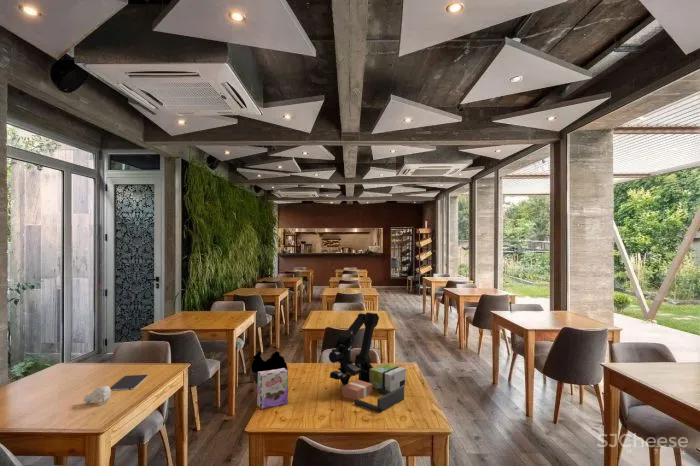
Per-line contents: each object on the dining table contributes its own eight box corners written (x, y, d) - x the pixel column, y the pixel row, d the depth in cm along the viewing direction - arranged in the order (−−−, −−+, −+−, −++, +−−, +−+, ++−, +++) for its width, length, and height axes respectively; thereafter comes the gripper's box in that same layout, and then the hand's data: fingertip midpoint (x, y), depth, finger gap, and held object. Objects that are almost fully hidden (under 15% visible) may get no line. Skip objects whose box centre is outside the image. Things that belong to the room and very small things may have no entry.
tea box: (390, 374, 208) (368, 368, 217) (390, 393, 207) (368, 387, 217) (406, 367, 219) (384, 362, 229) (406, 385, 219) (384, 380, 228)
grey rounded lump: (104, 387, 191) (79, 390, 191) (106, 405, 191) (80, 408, 190) (112, 383, 197) (87, 385, 197) (113, 400, 197) (89, 403, 197)
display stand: (354, 404, 194) (354, 391, 194) (379, 391, 210) (379, 380, 210) (380, 412, 184) (380, 399, 184) (404, 399, 200) (404, 387, 200)
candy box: (260, 409, 187) (260, 374, 188) (257, 405, 192) (257, 371, 193) (288, 404, 193) (288, 370, 194) (284, 400, 199) (284, 367, 199)
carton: (341, 396, 204) (342, 386, 205) (357, 389, 214) (357, 379, 214) (357, 401, 198) (357, 390, 198) (372, 393, 208) (372, 383, 208)
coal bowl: (295, 387, 216) (295, 352, 217) (263, 397, 202) (264, 360, 203) (274, 378, 231) (274, 346, 231) (243, 387, 216) (243, 352, 217)
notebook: (125, 378, 232) (108, 391, 211) (125, 375, 232) (108, 388, 211) (148, 377, 234) (134, 390, 213) (148, 374, 234) (134, 387, 213)
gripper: (345, 365, 200) (345, 396, 199) (367, 357, 214) (367, 386, 213) (329, 361, 207) (329, 391, 206) (352, 353, 221) (352, 382, 221)
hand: (345, 387), depth 211 cm, fingers closed
